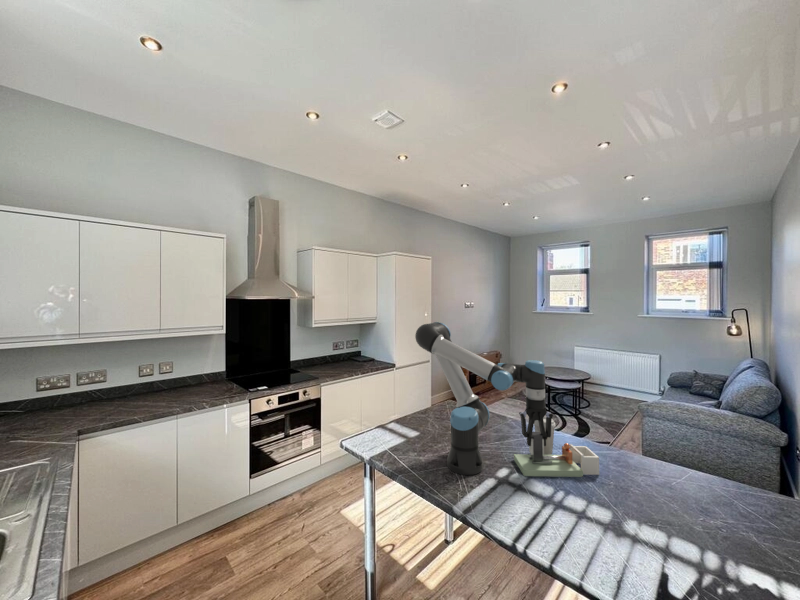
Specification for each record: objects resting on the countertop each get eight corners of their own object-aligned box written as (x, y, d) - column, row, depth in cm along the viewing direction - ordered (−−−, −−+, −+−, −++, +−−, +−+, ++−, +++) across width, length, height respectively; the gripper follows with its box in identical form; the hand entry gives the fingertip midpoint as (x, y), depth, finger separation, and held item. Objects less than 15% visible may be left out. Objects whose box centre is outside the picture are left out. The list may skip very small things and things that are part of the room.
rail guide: (532, 463, 130) (532, 461, 130) (529, 458, 134) (529, 456, 134) (552, 464, 129) (552, 461, 129) (548, 458, 134) (548, 456, 134)
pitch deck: (524, 476, 126) (524, 470, 126) (514, 459, 139) (513, 454, 139) (582, 476, 125) (582, 470, 125) (567, 460, 138) (567, 454, 138)
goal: (581, 474, 126) (581, 455, 126) (570, 462, 136) (569, 444, 136) (599, 474, 126) (598, 455, 126) (586, 462, 135) (585, 444, 135)
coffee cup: (551, 447, 150) (550, 415, 150) (559, 457, 140) (559, 423, 141) (530, 446, 151) (530, 415, 151) (537, 456, 141) (537, 423, 141)
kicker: (534, 463, 129) (534, 436, 129) (529, 456, 135) (529, 430, 135) (573, 464, 128) (573, 436, 128) (566, 457, 134) (566, 431, 134)
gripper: (518, 400, 129) (519, 457, 128) (559, 400, 128) (561, 457, 128) (512, 395, 136) (513, 449, 136) (551, 395, 135) (553, 449, 135)
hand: (536, 453), depth 132 cm, fingers closed on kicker, 4 cm apart
